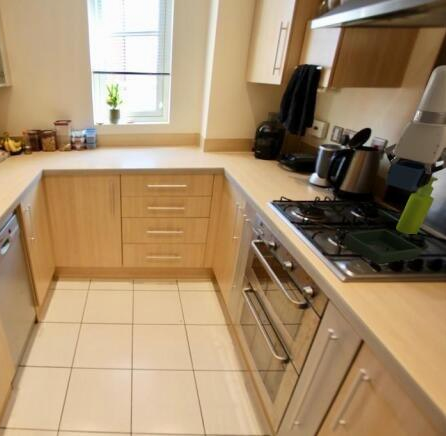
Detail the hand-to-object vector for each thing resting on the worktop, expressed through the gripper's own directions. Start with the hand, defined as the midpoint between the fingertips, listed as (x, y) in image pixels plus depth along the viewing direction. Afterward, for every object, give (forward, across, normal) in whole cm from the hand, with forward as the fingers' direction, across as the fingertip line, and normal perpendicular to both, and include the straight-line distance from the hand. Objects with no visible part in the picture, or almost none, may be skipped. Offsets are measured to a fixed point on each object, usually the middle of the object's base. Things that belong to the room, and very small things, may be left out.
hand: (405, 181), depth 90 cm
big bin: (+23, -1, +2) cm, 23 cm away
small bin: (+1, 0, 0) cm, 1 cm away
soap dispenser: (+24, +3, -22) cm, 32 cm away
